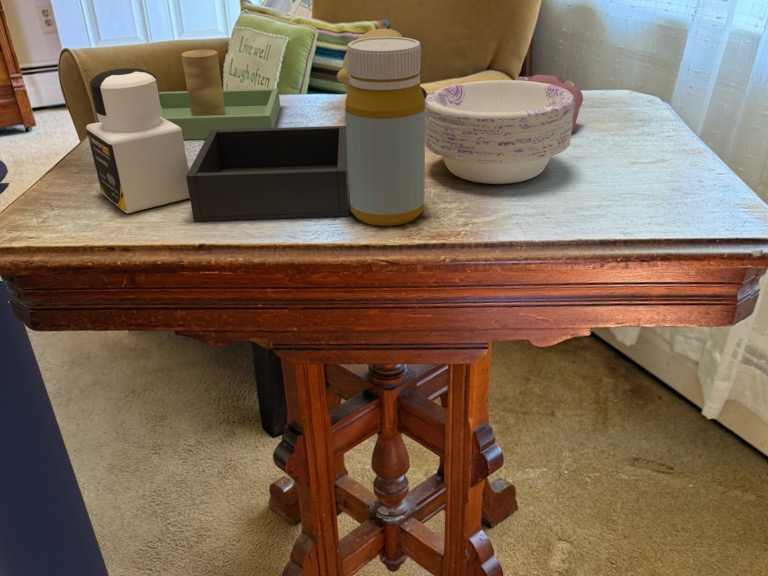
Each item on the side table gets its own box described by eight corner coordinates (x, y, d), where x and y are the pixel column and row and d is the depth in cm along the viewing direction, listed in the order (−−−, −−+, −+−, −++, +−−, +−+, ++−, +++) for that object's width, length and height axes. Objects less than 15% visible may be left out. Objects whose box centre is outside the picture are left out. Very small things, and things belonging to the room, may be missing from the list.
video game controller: (577, 141, 94) (590, 83, 93) (569, 133, 90) (583, 72, 89) (502, 132, 98) (513, 76, 97) (491, 124, 94) (503, 65, 92)
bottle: (418, 230, 68) (419, 52, 60) (343, 225, 70) (333, 51, 61) (428, 201, 74) (430, 36, 66) (359, 198, 75) (352, 35, 67)
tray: (128, 141, 93) (124, 119, 91) (152, 111, 104) (148, 92, 103) (272, 136, 93) (269, 115, 92) (280, 107, 104) (278, 88, 103)
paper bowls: (424, 149, 88) (425, 77, 83) (557, 148, 87) (564, 75, 82) (422, 196, 75) (422, 115, 71) (576, 196, 74) (587, 113, 70)
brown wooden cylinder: (189, 124, 96) (178, 57, 92) (195, 114, 100) (184, 50, 96) (223, 122, 97) (214, 56, 92) (228, 113, 100) (219, 49, 96)
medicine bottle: (101, 194, 78) (71, 71, 71) (166, 179, 81) (143, 60, 74) (126, 215, 73) (96, 85, 66) (194, 198, 76) (173, 72, 69)
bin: (193, 221, 71) (185, 175, 69) (216, 170, 83) (210, 129, 81) (348, 216, 71) (346, 170, 69) (348, 165, 84) (346, 125, 81)
